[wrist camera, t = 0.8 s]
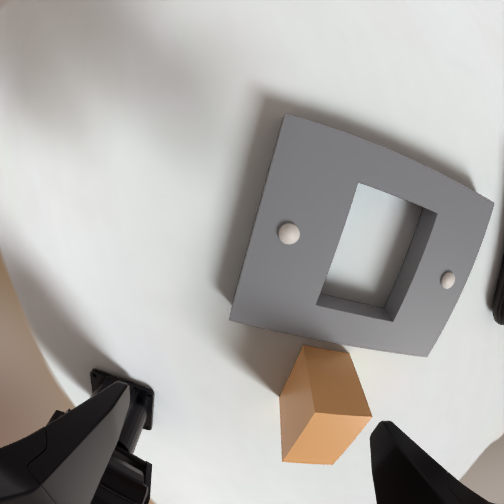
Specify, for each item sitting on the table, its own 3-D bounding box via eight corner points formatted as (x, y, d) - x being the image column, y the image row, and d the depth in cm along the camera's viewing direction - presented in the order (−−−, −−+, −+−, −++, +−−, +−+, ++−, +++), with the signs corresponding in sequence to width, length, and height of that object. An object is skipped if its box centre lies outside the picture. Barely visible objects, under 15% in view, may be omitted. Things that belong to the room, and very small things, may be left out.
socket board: (417, 343, 22) (428, 358, 20) (231, 305, 21) (228, 321, 19) (478, 198, 18) (496, 203, 16) (283, 117, 17) (286, 112, 15)
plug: (321, 402, 24) (332, 464, 17) (279, 396, 24) (282, 461, 17) (349, 353, 22) (372, 416, 16) (303, 344, 22) (314, 412, 15)
